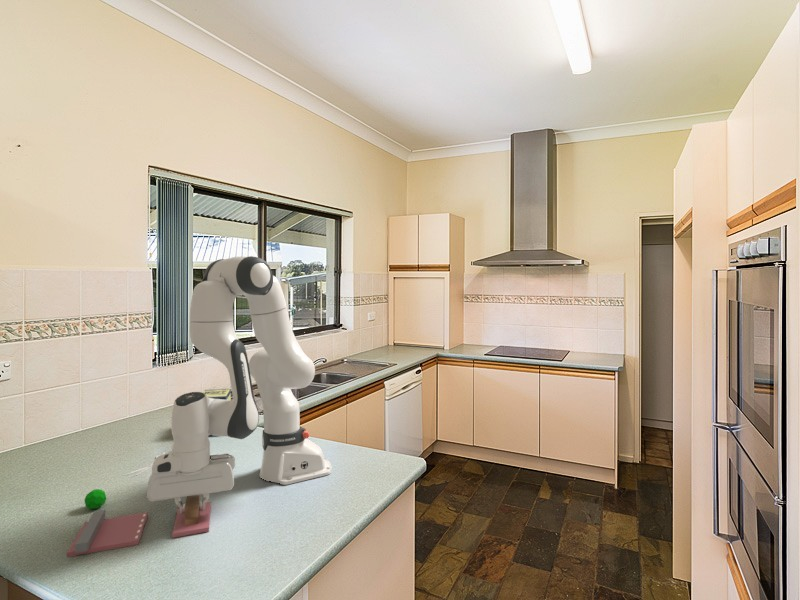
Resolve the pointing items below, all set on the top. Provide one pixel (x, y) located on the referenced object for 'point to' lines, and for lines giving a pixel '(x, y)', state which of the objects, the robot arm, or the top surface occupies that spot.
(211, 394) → the protein box
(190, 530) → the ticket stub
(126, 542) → the ticket
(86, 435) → the top surface
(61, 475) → the top surface
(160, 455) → the scissors
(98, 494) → the polyhedron
